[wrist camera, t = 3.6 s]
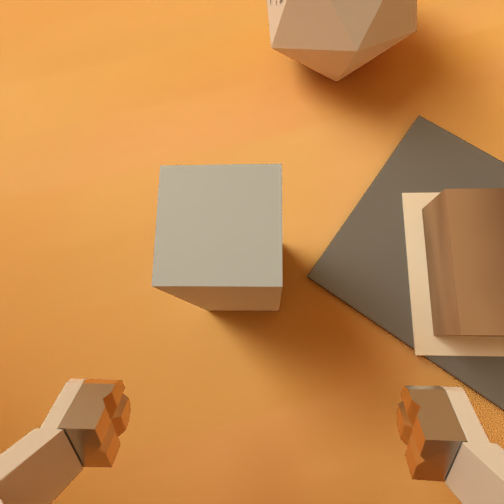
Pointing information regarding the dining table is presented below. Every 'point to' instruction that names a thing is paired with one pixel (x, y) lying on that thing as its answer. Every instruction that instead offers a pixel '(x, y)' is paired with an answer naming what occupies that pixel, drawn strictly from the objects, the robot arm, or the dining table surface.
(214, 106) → the dining table surface
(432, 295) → the base block
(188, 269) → the column
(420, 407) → the robot arm
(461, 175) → the mat
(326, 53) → the die
